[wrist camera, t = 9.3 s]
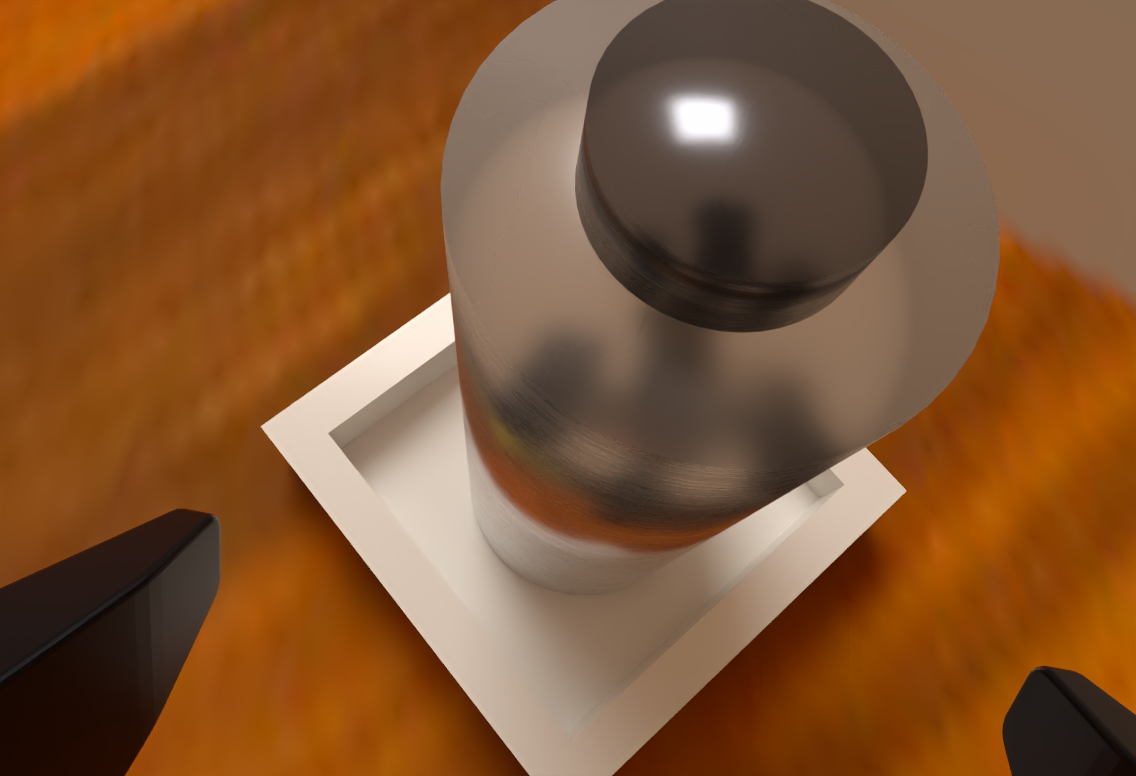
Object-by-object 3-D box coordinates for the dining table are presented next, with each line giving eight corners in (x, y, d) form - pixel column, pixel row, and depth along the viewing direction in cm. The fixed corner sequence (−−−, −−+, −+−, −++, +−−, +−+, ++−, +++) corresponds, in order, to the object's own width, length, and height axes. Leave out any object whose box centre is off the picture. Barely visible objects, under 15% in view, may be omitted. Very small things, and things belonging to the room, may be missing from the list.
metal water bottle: (524, 634, 18) (607, 554, 6) (436, 424, 20) (338, -33, 7) (730, 538, 19) (1196, 286, 7) (633, 345, 21) (865, -175, 8)
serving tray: (554, 800, 18) (564, 821, 16) (287, 455, 20) (260, 426, 18) (859, 510, 21) (906, 491, 18) (598, 229, 23) (611, 179, 20)
